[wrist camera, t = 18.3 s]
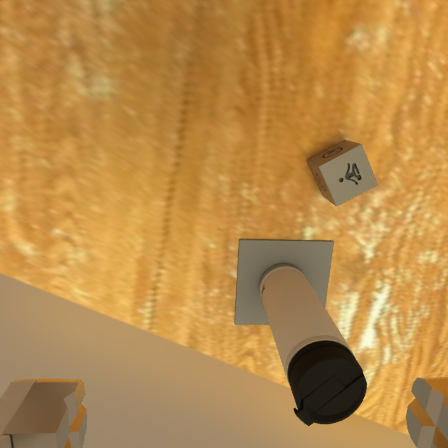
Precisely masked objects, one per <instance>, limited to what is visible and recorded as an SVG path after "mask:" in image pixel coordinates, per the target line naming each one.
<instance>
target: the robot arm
mask: <svg viewBox="0 0 448 448" xmlns="http://www.w3.org/2000/svg"><path fill="white" fill-rule="evenodd" d="M411 391H412V393H413V395H414V396H415V399H414V400H413V401H412V402H411V403H410V404H409V405H408V408H407V414H406V421H407V428H408V431H409V434H410V436H411V439H412V440H413V442H414V444H415V445H416V447H417V448H448V377H436V378H417V379H416V380H415V381H414V382H413V386H412V390H411ZM84 396H85V388H84V382H83V381H82V380H73V379H72V380H71V379H70V380H69V379H16V380H14V381H13V382H11V383H10V385H9V386H8V388H7V389H6V391H5V392H4V394H3V395H2V396H1V398H0V448H82V447H83V444H84V439H85V434H86V429H87V428H86V427H87V412H86V411H87V410H86V408H85V407H84V406H83V405H82V401H83V398H84Z"/></svg>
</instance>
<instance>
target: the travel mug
mask: <svg viewBox="0 0 448 448" xmlns="http://www.w3.org/2000/svg"><path fill="white" fill-rule="evenodd" d="M259 293H260V296H261V299H262V302H263V305H264V308H265V311H266V315H267V318H268V321H269V324H270V327H271V330H272V333H273V336H274V339H275V343H276V346H277V349H278V352H279V355H280V358H281V361H282V364H283V367H284V370H285V374H286V376H287V380H288V382H289V384H290V386H291V390H292V393H293V396H294V399H295V402H296V405H297V408H298V410H297V409H296V408H294V412H295V414H296V416H297V417H298V418H299V419H300V420H301V421H302V422H304V423H305V424H306V425H308V426H310V425H311V424H313V423H318V424H332V423H336V422H339V421H342V420H344V419H345V418H347V417H349V416H350V415H351V414H353V413H354V412H355V411H356V410H357V409H358V407H359V406H360V404H361V403H362V401H363V399H364V397H365V394H366V390H367V382H366V379H365V376H364V374H363V370H362V368H361V367H360V365H359V363H358V362H357V360H356V359H355V357H354V354H353V352H352V351H351V350H350V348H349V346H348V344H347V343H346V341H345V340H344V338H343V336H342V335H341V333H340V331H339V330H338V328H337V327H336V325H335V323H334V322H333V320H332V319H331V317H330V315H329V314H328V312H327V311H326V309H325V307H324V306H323V304H322V302H321V301H320V299H319V298H318V296H317V294H316V293H315V291H314V290H313V288H312V286H311V285H310V283H309V281H308V280H307V278H306V277H305V275H304V274H303V272H302V271H301V270H300V269H299V268H298V267H296V266H294V265H291V264H286V263H284V264H277V265H274V266H272V267H270V268H269V269H267V270H266V271H265V272H264V274H263V275H262V276H261V279H260V281H259Z"/></svg>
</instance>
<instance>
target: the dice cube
mask: <svg viewBox="0 0 448 448" xmlns="http://www.w3.org/2000/svg"><path fill="white" fill-rule="evenodd" d="M307 163H308V165H309V167H310V169H311V171H312V174H313V176H314V178H315V180H316V182H317V185H318V187H319V189H320V191H321V193H322V196H323V197H325V198H326V199H327V200H329V201H330V202H331V203H333V204H334V205H335V206H339V205H340V204H342V203H344V202H346V201H348V200H350V199H352V198H354V197H356V196H358V195H360V194H362V193H364V192H366V191H368V190H370V189H372V188H374V187H376V186H377V185H378V184H377V181H376V179H375V176H374V174H373V171H372V169H371V166H370V164H369V161H368V159H367V156H366V154H365V151H364V149H363V146H362V144H359V143H355V142H351V141H346V140H344V141H342V142H340V143H338V144H336V145H334V146H333V147H331V148H329V149H327V150H325V151H323V152H321V153H319V154H317V155H316V156H314V157H312V158H310V159H308V160H307Z"/></svg>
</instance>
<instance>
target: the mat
mask: <svg viewBox="0 0 448 448" xmlns="http://www.w3.org/2000/svg"><path fill="white" fill-rule="evenodd" d="M333 245H334V241H315V240H262V239H239V255H238V273H237V290H236V307H235V325H270V324H269V321H268V318H267V315H266V311H265V308H264V305H263V302H262V299H261V296H260V293H259V281H260V279H261V276H262V275H263V274H264V272H265V271H266V270H267V269H269V268H270V267H272V266H274V265H277V264H284V263H286V264H291V265H294V266H296V267H298V268H299V269H300V270H301V271H302V272H303V274H304V275H305V277H306V278H307V280H308V281H309V283H310V285H311V286H312V288H313V290H314V291H315V293H316V294H317V296H318V298H319V299H320V301H321V302H322V304H323V306H324V307H325V304H326V296H327V289H328V282H329V274H330V267H331V260H332V252H333Z"/></svg>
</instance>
